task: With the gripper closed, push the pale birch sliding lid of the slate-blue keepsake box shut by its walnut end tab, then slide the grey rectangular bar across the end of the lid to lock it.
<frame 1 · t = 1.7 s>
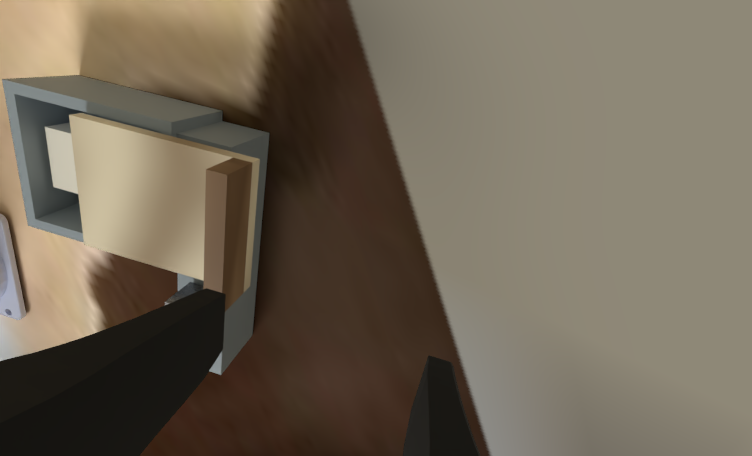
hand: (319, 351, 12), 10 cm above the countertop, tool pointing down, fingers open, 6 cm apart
soap bar: (125, 156, 22), resting on box
grey rectangular bar: (187, 337, 20), point 5 cm above the countertop, slide at 0.0 cm
box: (151, 159, 22), on the countertop
lid: (150, 212, 17), point 5 cm above the countertop, slide at 4.0 cm
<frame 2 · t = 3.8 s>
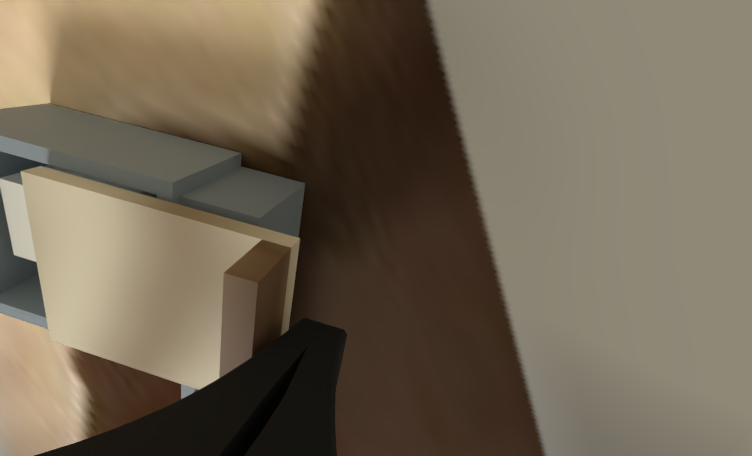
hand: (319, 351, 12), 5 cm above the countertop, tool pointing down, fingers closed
soap bar: (112, 208, 17), resting on box
box: (146, 212, 17), on the countertop
lid: (139, 311, 12), point 5 cm above the countertop, slide at 3.9 cm, touching gripper
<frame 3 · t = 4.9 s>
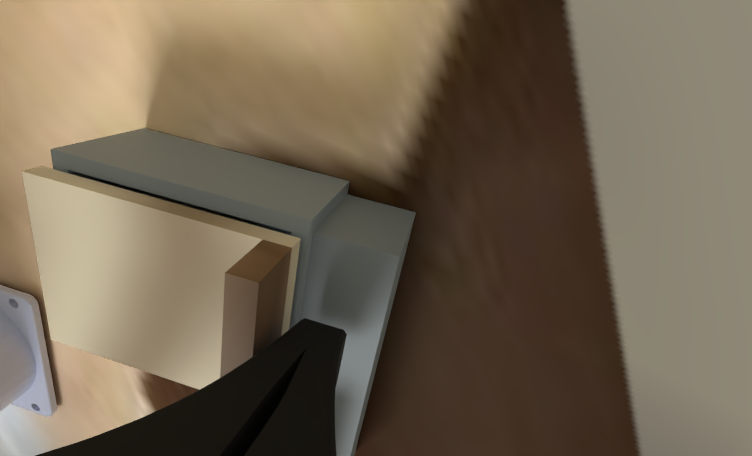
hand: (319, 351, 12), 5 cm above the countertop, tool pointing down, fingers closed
soap bar: (205, 235, 16), resting on box
box: (238, 239, 16), on the countertop
lid: (139, 311, 12), point 5 cm above the countertop, slide at -0.2 cm, touching gripper
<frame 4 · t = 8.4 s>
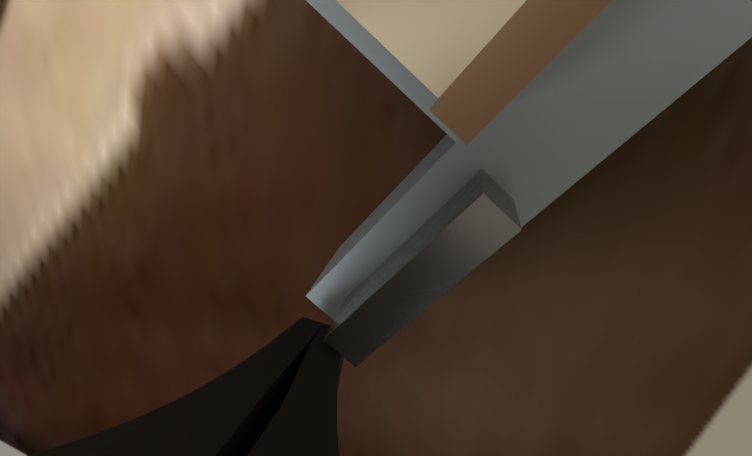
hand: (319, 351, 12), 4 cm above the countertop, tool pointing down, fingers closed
grey rectangular bar: (416, 270, 9), point 5 cm above the countertop, slide at 0.5 cm, touching gripper
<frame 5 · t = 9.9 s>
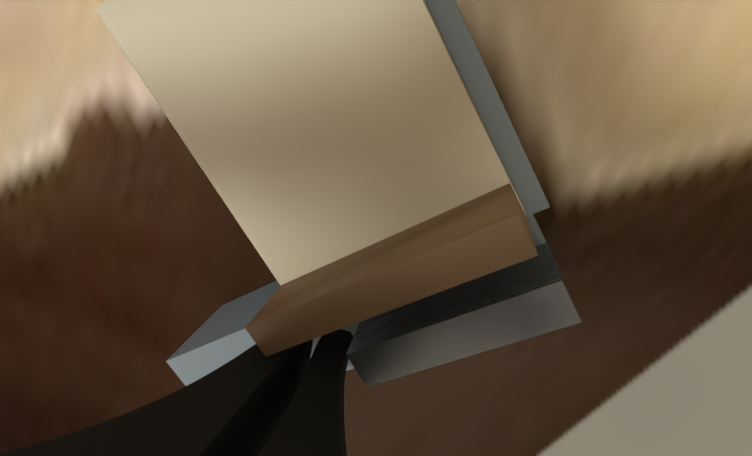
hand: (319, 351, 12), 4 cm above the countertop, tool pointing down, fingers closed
grey rectangular bar: (455, 316, 10), point 5 cm above the countertop, slide at 7.1 cm, touching gripper
box: (366, 102, 13), on the countertop
lid: (295, 115, 8), point 5 cm above the countertop, slide at -0.3 cm, touching gripper
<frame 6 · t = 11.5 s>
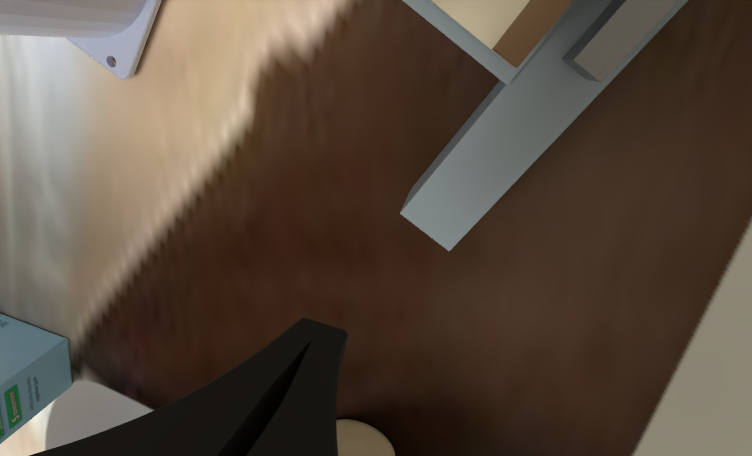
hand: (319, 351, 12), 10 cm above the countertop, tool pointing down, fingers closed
candle: (355, 447, 27), on the countertop
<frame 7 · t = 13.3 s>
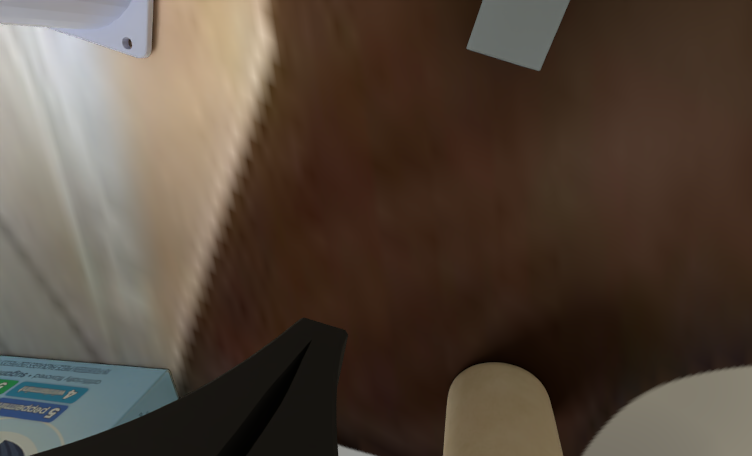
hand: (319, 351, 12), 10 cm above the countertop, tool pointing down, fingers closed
gum box: (71, 380, 31), on the countertop
candle: (497, 397, 23), on the countertop
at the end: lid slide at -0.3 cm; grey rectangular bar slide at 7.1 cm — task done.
